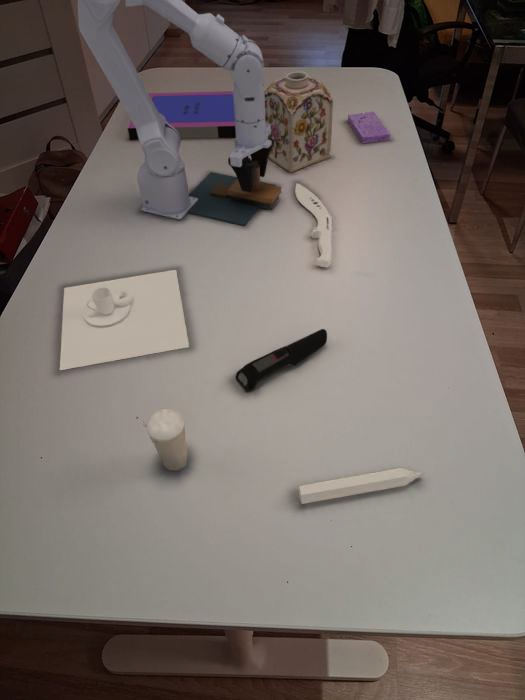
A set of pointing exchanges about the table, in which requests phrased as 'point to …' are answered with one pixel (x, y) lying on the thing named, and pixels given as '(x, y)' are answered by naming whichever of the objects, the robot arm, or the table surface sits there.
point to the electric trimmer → (280, 359)
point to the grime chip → (220, 191)
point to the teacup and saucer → (122, 319)
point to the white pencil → (356, 485)
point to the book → (195, 114)
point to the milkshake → (168, 437)
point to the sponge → (368, 127)
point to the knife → (321, 229)
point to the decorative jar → (298, 120)
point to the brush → (255, 193)
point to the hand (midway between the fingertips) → (253, 183)
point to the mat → (220, 202)
